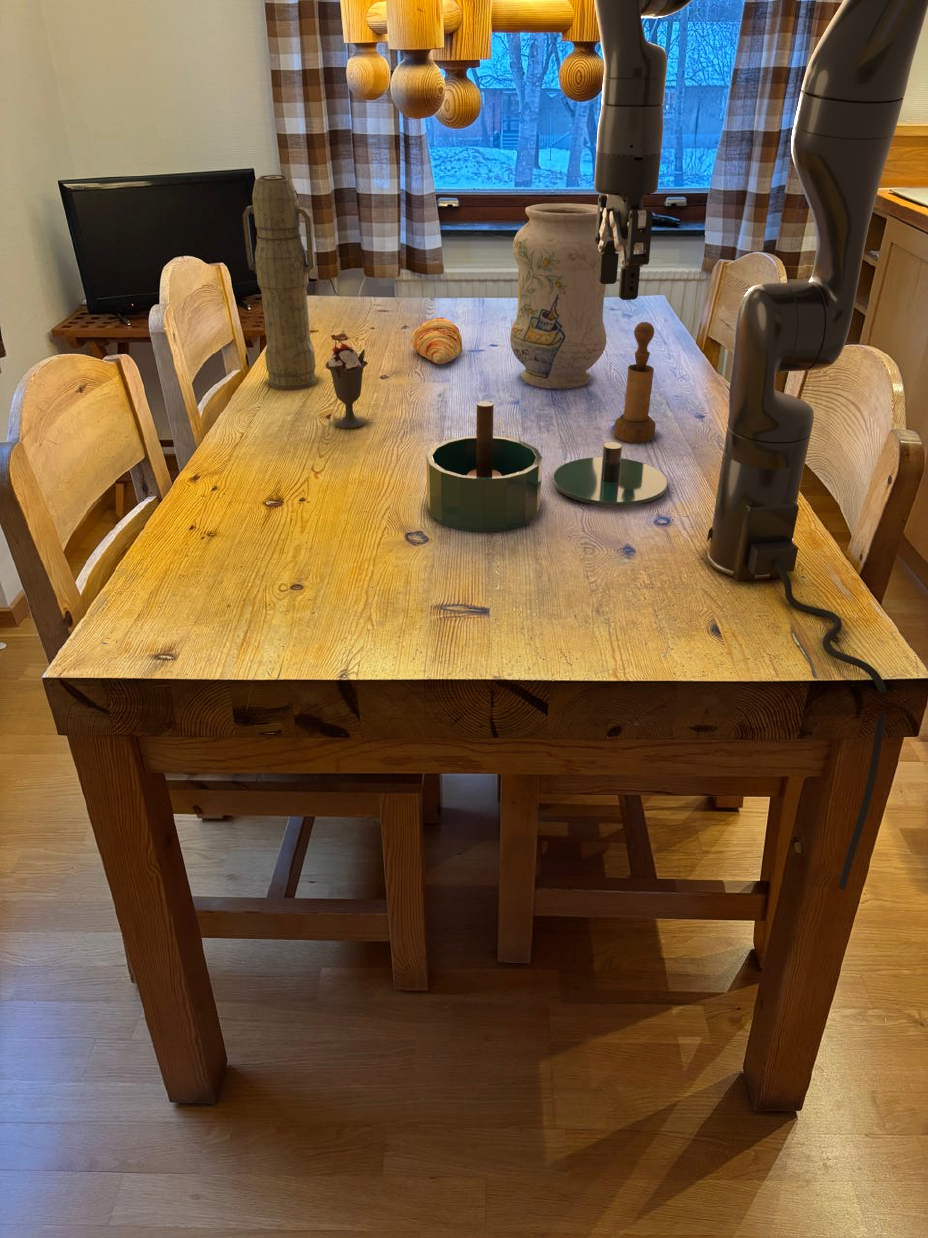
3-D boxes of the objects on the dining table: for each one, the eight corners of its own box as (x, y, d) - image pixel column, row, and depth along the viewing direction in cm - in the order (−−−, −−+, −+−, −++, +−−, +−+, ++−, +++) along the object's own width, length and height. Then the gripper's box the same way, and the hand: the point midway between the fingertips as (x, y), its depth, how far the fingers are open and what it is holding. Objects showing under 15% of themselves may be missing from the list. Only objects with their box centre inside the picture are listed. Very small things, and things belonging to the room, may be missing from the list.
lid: (682, 505, 133) (688, 463, 130) (568, 513, 131) (571, 471, 128) (645, 461, 147) (649, 422, 143) (541, 467, 144) (543, 428, 141)
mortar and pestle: (653, 444, 153) (666, 329, 143) (612, 441, 154) (622, 327, 144) (655, 429, 158) (667, 318, 149) (615, 427, 159) (624, 316, 150)
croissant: (456, 385, 188) (475, 348, 185) (410, 363, 185) (429, 325, 182) (445, 351, 206) (463, 318, 203) (403, 331, 203) (420, 296, 199)
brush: (506, 510, 130) (508, 409, 123) (468, 513, 130) (468, 411, 122) (498, 494, 135) (500, 396, 127) (462, 497, 134) (462, 398, 127)
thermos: (323, 389, 176) (306, 179, 157) (257, 389, 175) (233, 180, 157) (326, 374, 183) (311, 172, 165) (264, 374, 183) (242, 173, 165)
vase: (545, 358, 192) (553, 195, 176) (623, 376, 182) (638, 205, 167) (489, 380, 180) (492, 207, 164) (569, 400, 170) (580, 219, 155)
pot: (550, 527, 127) (553, 474, 123) (436, 536, 125) (435, 482, 121) (525, 481, 140) (527, 432, 136) (421, 488, 138) (420, 439, 134)
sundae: (321, 426, 159) (314, 335, 151) (344, 414, 164) (338, 325, 156) (355, 433, 157) (349, 340, 149) (377, 420, 162) (373, 330, 154)
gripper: (581, 142, 118) (573, 279, 126) (616, 155, 106) (605, 305, 114) (640, 141, 119) (628, 277, 128) (681, 154, 107) (665, 303, 116)
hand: (617, 291), depth 121 cm, fingers open, 8 cm apart
